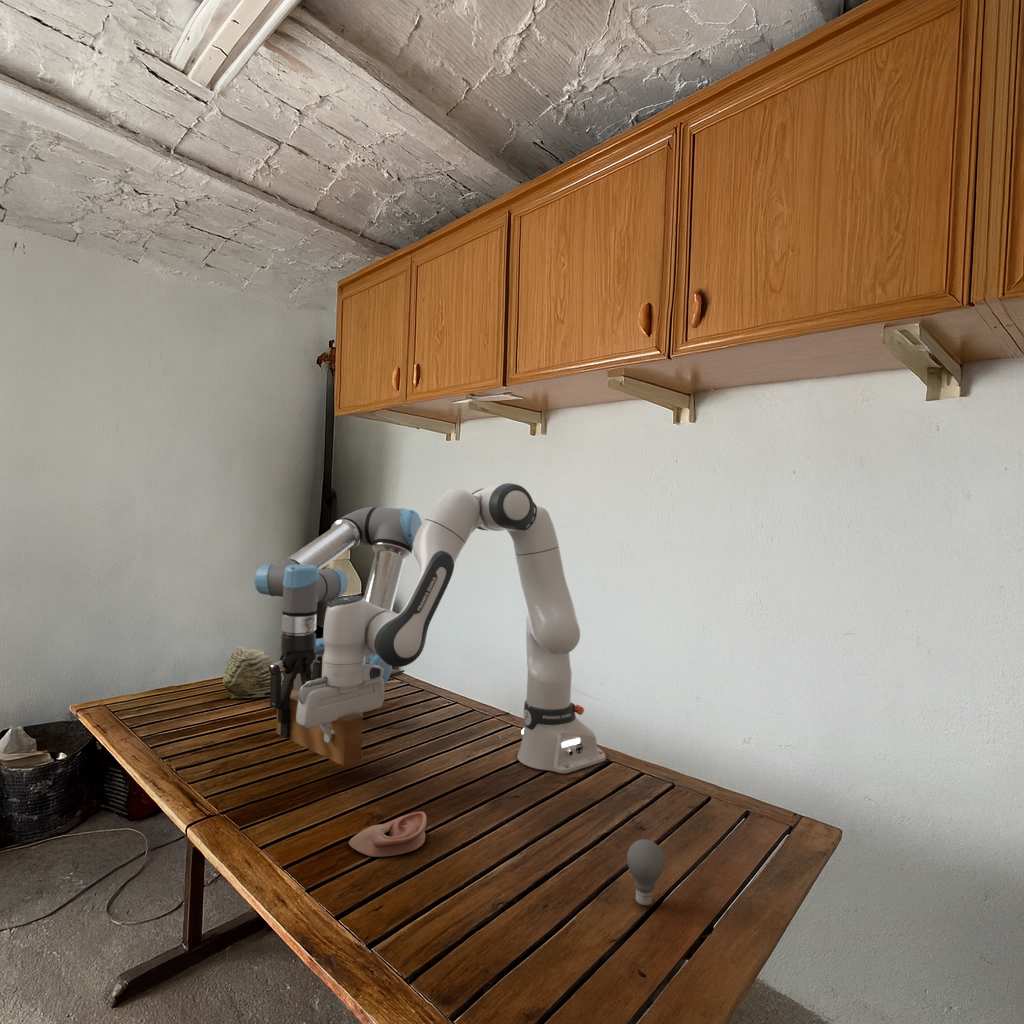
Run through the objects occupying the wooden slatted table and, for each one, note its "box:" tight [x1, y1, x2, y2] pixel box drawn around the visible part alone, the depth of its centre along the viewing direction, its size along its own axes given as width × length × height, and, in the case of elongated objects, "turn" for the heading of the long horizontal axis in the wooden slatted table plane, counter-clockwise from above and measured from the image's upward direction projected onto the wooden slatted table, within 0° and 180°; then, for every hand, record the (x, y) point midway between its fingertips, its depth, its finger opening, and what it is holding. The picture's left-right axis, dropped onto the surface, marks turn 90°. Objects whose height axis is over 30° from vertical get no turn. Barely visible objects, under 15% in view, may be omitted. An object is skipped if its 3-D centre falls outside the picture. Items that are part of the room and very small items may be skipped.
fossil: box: [222, 646, 284, 699], centre depth 198 cm, size 9×18×15 cm, turn 132°
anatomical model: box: [348, 811, 428, 858], centre depth 117 cm, size 13×4×12 cm
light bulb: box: [626, 838, 666, 906], centre depth 102 cm, size 6×6×10 cm
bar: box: [275, 688, 364, 767], centre depth 140 cm, size 26×4×10 cm, turn 51°
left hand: (295, 733), depth 145 cm, fingers closed on bar, 4 cm apart
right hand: (340, 737), depth 135 cm, fingers closed on bar, 4 cm apart
